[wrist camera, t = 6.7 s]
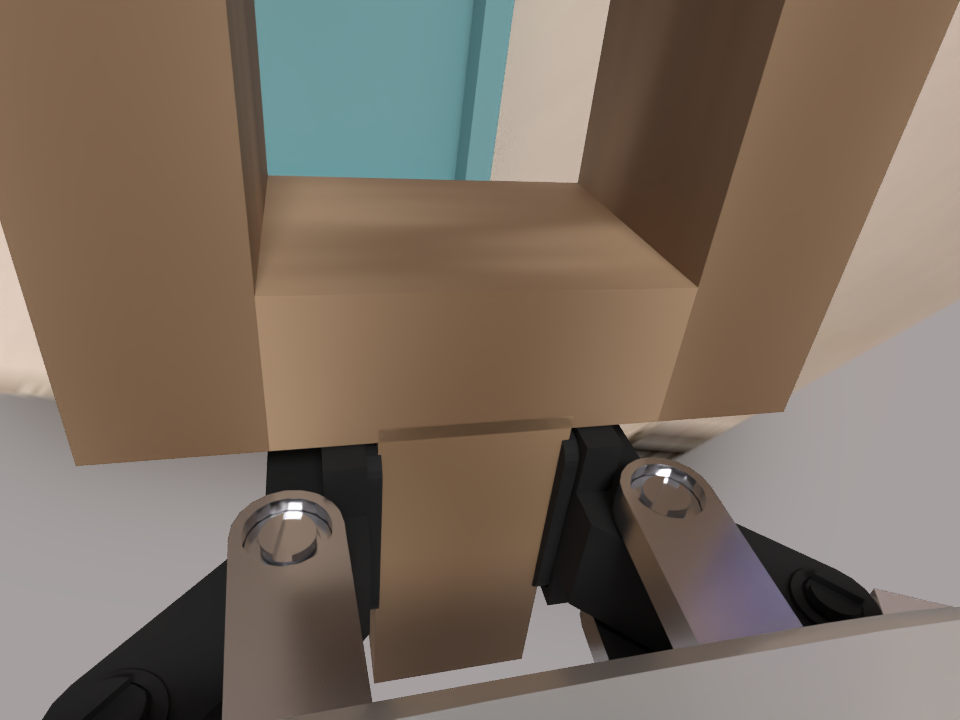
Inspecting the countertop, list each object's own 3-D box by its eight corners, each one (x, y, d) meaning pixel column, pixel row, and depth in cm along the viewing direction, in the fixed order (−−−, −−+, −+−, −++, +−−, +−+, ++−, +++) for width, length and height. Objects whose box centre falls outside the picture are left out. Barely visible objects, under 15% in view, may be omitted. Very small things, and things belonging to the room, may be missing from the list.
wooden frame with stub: (835, -393, 8) (1231, -630, 4) (604, 480, 15) (689, 630, 12) (-43, -648, 6) (-525, -1495, 2) (189, 521, 13) (153, 720, 10)
